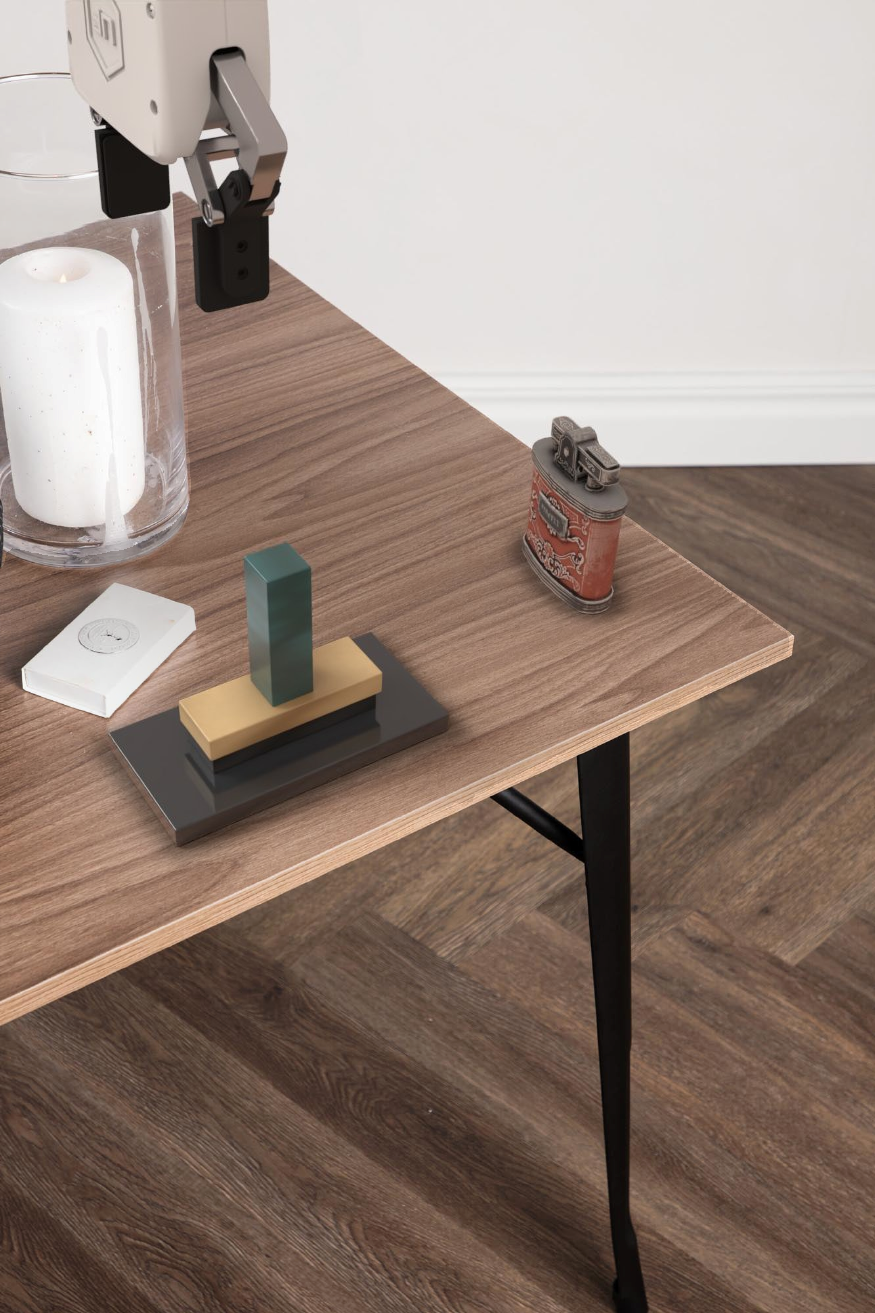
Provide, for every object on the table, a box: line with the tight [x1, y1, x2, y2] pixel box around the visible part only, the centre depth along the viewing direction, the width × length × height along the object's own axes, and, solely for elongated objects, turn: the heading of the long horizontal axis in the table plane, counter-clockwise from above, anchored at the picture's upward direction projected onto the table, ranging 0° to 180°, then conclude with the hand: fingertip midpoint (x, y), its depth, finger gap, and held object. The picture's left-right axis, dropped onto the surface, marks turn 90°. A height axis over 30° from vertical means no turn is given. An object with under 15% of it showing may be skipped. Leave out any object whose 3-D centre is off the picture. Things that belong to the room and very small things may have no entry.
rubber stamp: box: [178, 541, 382, 774], centre depth 71 cm, size 10×4×11 cm, turn 124°
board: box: [107, 631, 450, 847], centre depth 75 cm, size 16×8×1 cm, turn 124°
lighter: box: [521, 415, 629, 615], centre depth 84 cm, size 8×3×10 cm, turn 27°
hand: (182, 255), depth 63 cm, fingers open, 9 cm apart
